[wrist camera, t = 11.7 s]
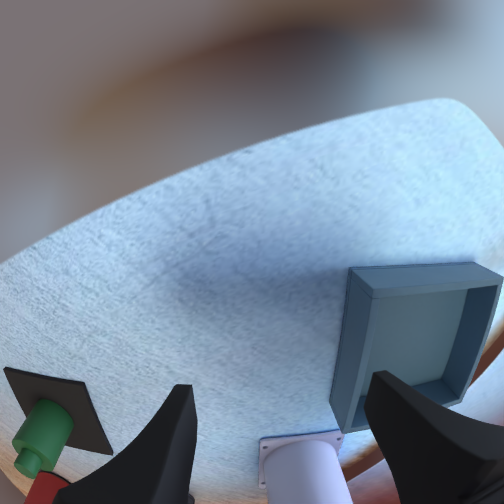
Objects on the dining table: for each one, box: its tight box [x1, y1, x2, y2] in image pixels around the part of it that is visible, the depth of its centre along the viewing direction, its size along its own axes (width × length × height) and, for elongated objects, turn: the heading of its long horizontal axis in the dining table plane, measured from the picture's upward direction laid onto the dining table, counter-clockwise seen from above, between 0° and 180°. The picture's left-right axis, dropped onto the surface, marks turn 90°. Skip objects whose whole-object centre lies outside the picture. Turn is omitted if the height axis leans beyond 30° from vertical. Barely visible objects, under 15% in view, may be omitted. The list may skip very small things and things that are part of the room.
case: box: [329, 262, 504, 434], centre depth 20 cm, size 12×12×4 cm
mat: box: [3, 367, 113, 456], centre depth 23 cm, size 10×10×1 cm
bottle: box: [12, 399, 74, 479], centre depth 18 cm, size 4×4×8 cm
